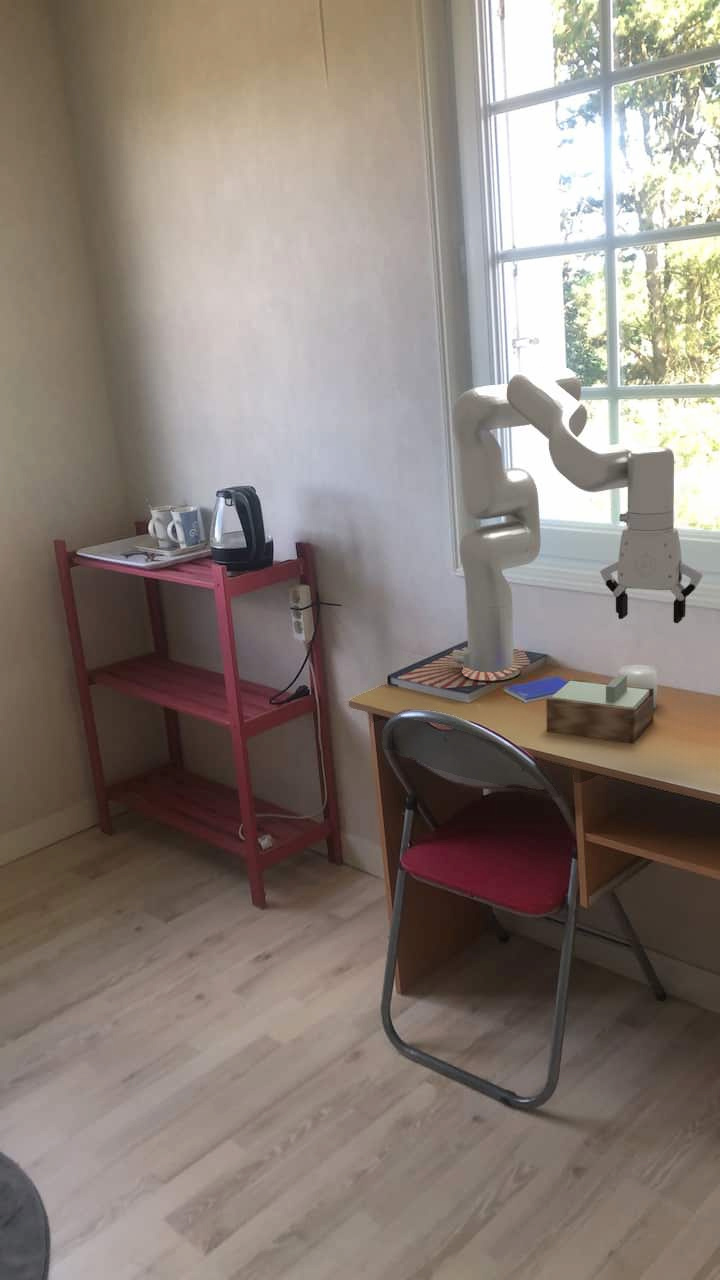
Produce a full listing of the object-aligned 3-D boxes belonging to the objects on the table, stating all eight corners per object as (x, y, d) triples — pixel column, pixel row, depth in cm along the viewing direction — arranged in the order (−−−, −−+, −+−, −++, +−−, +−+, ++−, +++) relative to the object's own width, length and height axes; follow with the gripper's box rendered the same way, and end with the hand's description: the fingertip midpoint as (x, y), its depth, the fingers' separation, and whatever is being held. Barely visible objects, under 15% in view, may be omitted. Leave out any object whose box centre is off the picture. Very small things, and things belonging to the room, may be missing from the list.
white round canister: (614, 708, 208) (614, 673, 206) (625, 697, 213) (625, 663, 211) (650, 713, 204) (651, 677, 202) (661, 701, 210) (661, 666, 208)
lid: (551, 702, 198) (550, 682, 197) (570, 685, 206) (570, 666, 205) (632, 712, 190) (632, 692, 189) (649, 694, 198) (649, 675, 197)
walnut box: (546, 730, 199) (546, 698, 197) (569, 709, 208) (569, 678, 207) (633, 743, 191) (633, 709, 189) (653, 720, 200) (653, 688, 199)
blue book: (525, 697, 213) (578, 686, 218) (503, 686, 220) (555, 675, 225) (525, 705, 214) (578, 693, 218) (503, 693, 221) (555, 682, 226)
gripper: (593, 523, 186) (594, 621, 190) (696, 526, 177) (695, 628, 182) (608, 516, 192) (608, 610, 197) (708, 518, 183) (706, 617, 188)
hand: (650, 619), depth 189 cm, fingers open, 9 cm apart
